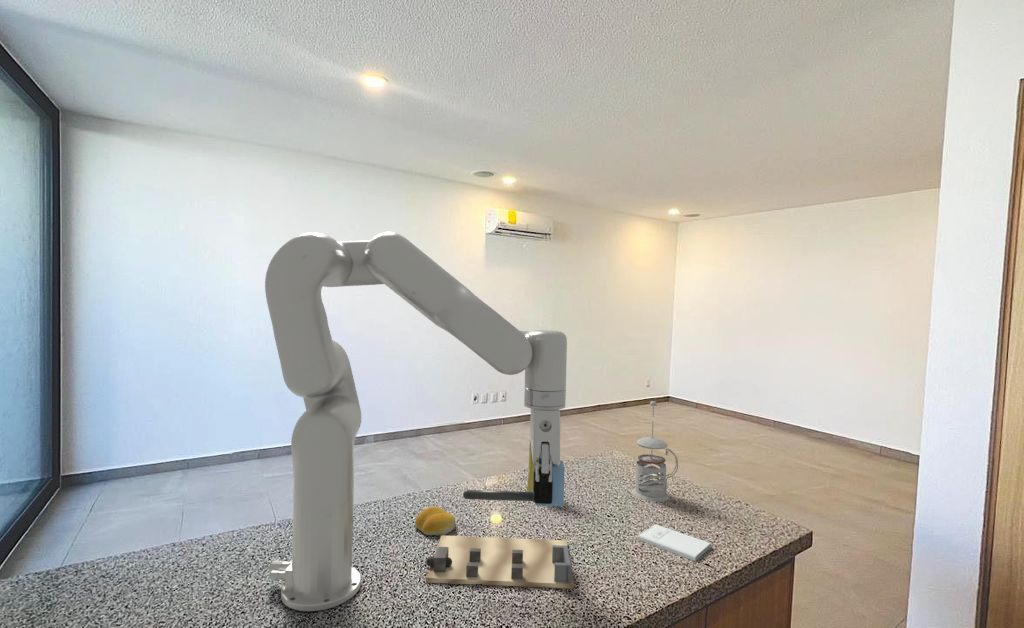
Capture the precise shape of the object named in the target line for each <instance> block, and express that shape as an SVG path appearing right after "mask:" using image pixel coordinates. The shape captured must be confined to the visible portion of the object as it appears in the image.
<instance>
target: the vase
mask: <svg viewBox="0 0 1024 628" xmlns="http://www.w3.org/2000/svg"><path fill="white" fill-rule="evenodd" d="M528 455H529V457H528V474H527V483H526V485H527V488H526V492H533V485H534V471H535V464H534V463H533V459H532V451H531V438H530V439H529V454H528Z"/></svg>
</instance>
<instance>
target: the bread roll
mask: <svg viewBox="0 0 1024 628" xmlns="http://www.w3.org/2000/svg"><path fill="white" fill-rule="evenodd" d="M414 523H415V527H416V528H417V529H418V530H419V531H420V532H422V533H423V535H425V534H426V536H428V535H440V536H441V535H444V534H446V535H448V534H450V533H451V532H453V531H454V529H455V528H456V519H455V516H454V515H453V514H452V513H450V512H449V513H448V512H447V511H446V510H445V509H444V508H442V507H440V506H430V507H427V508H424V509H423V510H422V511H420V512H419V513H418V514H417V516H416V517H415V520H414ZM452 530H453V531H452ZM449 532H450V533H449ZM447 533H448V534H447ZM444 536H445V535H444Z"/></svg>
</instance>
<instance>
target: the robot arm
mask: <svg viewBox="0 0 1024 628" xmlns="http://www.w3.org/2000/svg"><path fill="white" fill-rule="evenodd" d="M264 279H265V280H264V292H265V297H266V303H267V304H266V305H267V308H268V312H269V317H270V321H271V325H272V330H273V336H274V341H275V345H276V350H277V353H278V359H279V363H280V368H281V373H282V377H283V382H284V383H285V385H286V387H287V388H288V390H290V392H291V393H292V394H293V395H296V396H297V397H301V398H303V403H304V406H305V411H304V412H303V413H302V414H301V415H300V416H299V418H298V420H297V421H296V423H295V425H294V428H293V431H292V434H291V441H290V442H291V443H290V446H291V447H290V448H291V449H290V450H291V451H290V452H291V461H292V472H293V473H292V474H293V488H292V490H293V497H292V498H293V500H292V501H293V502H292V503H293V504H292V505H293V506H292V507H293V508H292V548H291V549H292V550H291V551H292V552H291V560H289V561H286V560H278V559H277V560H272V561H271V562H270V566H269V580H273V581H274V580H275V581H277V580H282V581H283V582H284V583H283V584H282V586H281V590H280V599H281V601H282V603H283V604H284V605H285V606H286V607H288V608H289V609H292V610H294V611H300V612H318V611H324V610H328V609H332V608H335V607H337V606H340V605H342V604H343V603H345V602H347V601H349V600H350V599H352V598H353V597H354V596H355V595H356V594H357V593H358V591H359V590H360V588H361V584H362V575H361V573H360V572H359V571H358V570H357V569H356V568H355V567H354V566H353V539H354V538H353V535H354V534H353V531H354V530H353V527H354V496H355V495H354V489H355V487H354V485H355V473H354V472H355V467H354V466H355V465H354V445H355V439H356V437H357V435H358V433H359V430H360V427H361V424H362V409H361V405H360V401H359V396H358V393H357V388H356V383H355V380H354V375H353V371H352V367H351V366H352V365H351V362H350V359H349V357H348V354H347V352H346V350H345V349H344V347H343V346H342V345H340V344H339V342H336V341H335V340H333V338H332V334H331V331H330V327H329V322H328V321H329V320H328V316H327V311H326V309H325V305H324V303H323V299H322V289H323V287H324V288H339V287H355V286H360V287H361V286H376V285H385V286H386V287H387V288H389V289H390V290H391V291H392V292H394V293H395V294H396V295H398V296H399V297H400V298H402V299H403V300H404V301H406V303H408V304H409V305H410V306H411V307H413V308H414V309H415V310H417V311H418V312H419V313H420V314H422V315H423V317H425V318H427V319H428V320H429V321H430V322H432V323H433V324H434V325H436V327H439V328H440V329H442V330H444V331H446V332H447V333H449V334H450V335H452V336H453V337H454V338H456V339H457V340H458V341H459V342H460V343H462V344H463V345H465V346H466V348H468V349H470V351H472V352H473V353H474V354H476V355H477V356H479V358H480V359H482V360H483V361H485V362H486V363H487V364H488V365H490V367H492V368H493V369H494V370H495V371H496V372H498V373H501V374H503V375H508V376H513V375H518V374H520V373H522V372H523V371H524V398H523V399H524V400H523V401H524V402H523V406H524V407H525V408H527V409H530V427H529V428H530V439H531V451H532V459H533V463H534V464H535V471H534V485H533V492H534V501H533V503H534V504H535V503H539V504H551V503H552V486H553V481H552V461H553V463H554V464H556V465H557V466H559V465H560V460H561V410H563V409H565V408H566V395H567V394H566V393H567V392H566V391H567V390H566V389H567V388H566V387H567V358H568V357H567V356H568V355H567V353H568V340H567V339H568V338H567V336H566V333H564V332H562V331H560V330H559V331H558V330H541V329H540V330H532V331H527V330H526V331H524V330H519V329H518V328H517V327H516V326H514V325H513V324H512V323H511V322H509V321H508V319H506V318H505V317H503V316H502V315H501V314H500V313H498V312H497V311H496V310H494V309H493V308H492V307H491V306H490V305H488V304H487V303H486V302H484V301H483V300H481V298H479V297H478V296H477V295H476V294H474V293H473V292H472V291H471V290H470V289H469V288H468V287H467V286H466V285H464V284H463V283H461V282H460V281H459V280H458V279H457V278H455V277H454V276H453V275H452V274H450V273H449V272H448V271H446V270H445V269H444V268H443V267H442V266H440V265H439V264H438V262H435V261H434V259H432V258H431V257H430V256H428V255H427V254H426V253H424V251H423V250H421V249H420V248H418V247H417V246H416V245H415V244H414V243H413V242H411V241H410V240H408V239H407V237H405V236H403V235H401V234H399V233H397V232H395V231H385V232H381V233H378V234H377V235H374V237H372V238H371V240H349V241H340V240H339V241H337V240H336V239H335V238H333V237H331V236H329V235H326V234H325V233H321V232H305V233H301V234H298V235H297V236H294V237H293V238H291V239H289V240H288V241H286V242H285V243H284V244H283V245H282V246H281V247H280V248H279V249H278V250H277V251H276V252H275V253H274V255H273V257H272V259H270V261H269V264H268V267H267V270H266V272H265V278H264ZM539 460H541V463H539ZM539 467H541V469H540V470H539ZM535 475H536V480H535Z"/></svg>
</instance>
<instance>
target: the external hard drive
mask: <svg viewBox="0 0 1024 628" xmlns="http://www.w3.org/2000/svg"><path fill="white" fill-rule="evenodd" d="M637 538H638V541H641V542H643V543H646V544H649V545H651V546H653V547H656V548H660V549H661V550H664V551H667V552H670V553H672V554H675V555H677V556H679V557H682V558H685V559H688V560H690V561H692V562H697V561H698V560H699V559H701V558H702V556H703V555H705V554H706V553H707V552H708V551H709V550H710V549H712V543H711V542H709V541H705V540H702V539H699V538H696V537H694V536H690V535H688V534H685V533H682V532H679V531H676V530H673V529H671V528H667V527H664V526H662V525H659V524H653V525H651V526H650V527H648V529H646V530H645V531H642V533H641V532H640V534H638V537H637Z"/></svg>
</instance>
